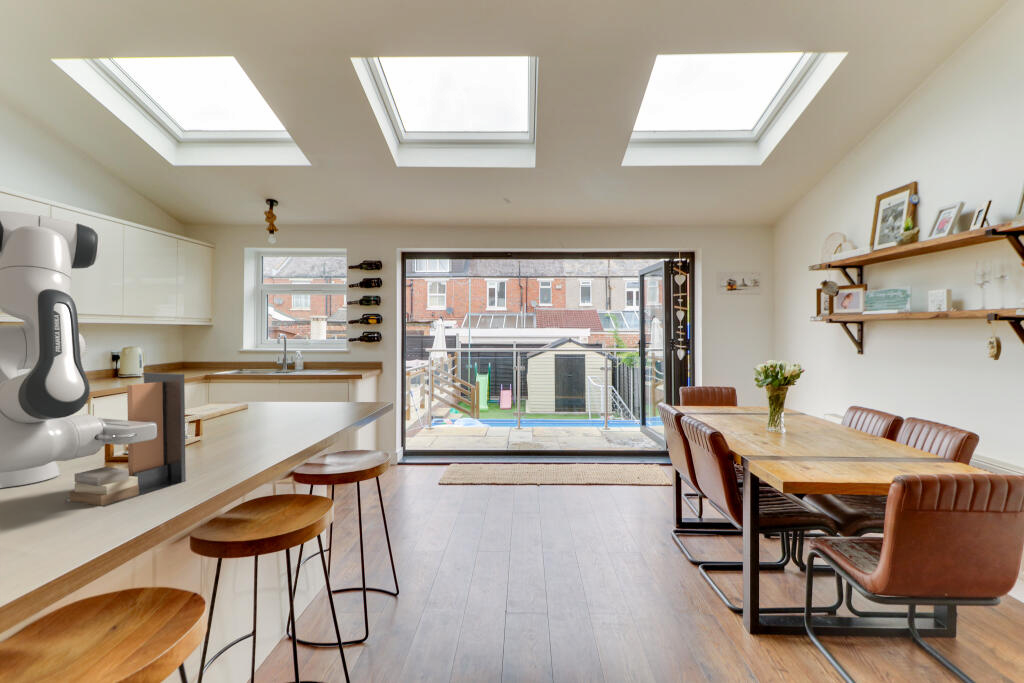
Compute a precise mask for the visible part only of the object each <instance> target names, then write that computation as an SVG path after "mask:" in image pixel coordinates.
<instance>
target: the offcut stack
mask: <svg viewBox="0 0 1024 683" xmlns="http://www.w3.org/2000/svg"><path fill="white" fill-rule="evenodd" d="M138 494H139V485H138V477H134V476H129V469H121V468H115V467H110V466H103V467H99V468H94V469H90V470H86V471H82V472H77V473H74V490H71V491H70V492H69V499H70V501H69V502H71V501H75V502H74V503H77V502H81V503H80V504H83V503H88V504H87V505H89V504H94V505H93V506H95V505H100V506H99V507H102V505H105V504H109V503H112V502H115V501H118V500H122V499H125V498H128V497H131V496H135V495H138Z"/></svg>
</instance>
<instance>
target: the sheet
mask: <svg viewBox="0 0 1024 683" xmlns="http://www.w3.org/2000/svg"><path fill="white" fill-rule="evenodd" d="M126 388H127V389H126V394H127V396H126V397H127V398H126V400H127V421H139V422H145V421H154V422H155V423H156V425H157V437H156V438H155V439H153V440H149V441H143V442H138V443H132V444H127V445H128V446H127V448H128V449H127V455H128V456H127V457H128V458H127V461H128V470H129V476H132V473H135V472H139V471H143V470H147V469H150V468H154V467H158V466H162V465H164V461H163V389H162V382H154V383H144V382H143V383H137V384H128V385H127V384H126Z"/></svg>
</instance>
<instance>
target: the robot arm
mask: <svg viewBox="0 0 1024 683" xmlns="http://www.w3.org/2000/svg"><path fill="white" fill-rule="evenodd" d="M101 250H102V249H101V242H100V239H99V236H98V233H97V232H96V231H95V230H94V228H92V227H89V226H87V225H83V224H81V223H76V224H75V223H72V222H69V221H65V220H62V219H59V218H54V217H50V216H45V215H36V214H31V213H30V214H29V213H23V212H16V211H6V210H0V311H1V312H2V313H5V314H6V315H9V316H11V317H13V318H16V319H19V320H22V321H24V322H23V324H22V325H0V489H3V488H9V487H17V486H24V485H29V484H34V483H35V484H36V483H40V482H43V481H47V480H50V479H52V478H55V477H56V478H57V477H58V476H59V475H61V471H60V466H59V465H58V462H67V461H71V460H76V459H81V458H84V457H89V456H93V455H96V454H98V453H99V452H100V451H101V449H102V448H103V447H104V446H105V445H106V444H107V445H108V444H109V445H116V446H117V445H119V446H120V445H121V446H122V445H128V444H132V443H138V442H143V441H149V440H153V439H155V438H156V437H157V425H156V423H155V422H154V421H145V422H139V421H128V419H127V420H125V419H112V418H101V417H96V416H95V415H93V414H90V413H85V414H84V413H83V414H79V415H74V414H76V413H78V412H79V411H80V410H81V409H83V408H84V407H85V405H86V403H87V402H88V400H89V397H90V394H91V393H90V391H91V389H90V383H89V380H88V377H87V374H86V373H85V370H84V367H83V364H82V358H83V357H84V355H85V353H86V346H87V344H86V340H85V338H84V336H83V335H82V334H81V333H80V332H79V331H80V329H79V319H78V317H79V316H78V311H77V306H76V303H75V301H74V300H73V297H72V273H73V272H72V270H73V269H76V270H77V269H87V268H88V269H89V267H91V266H93V265H94V264H95V263H96V261H97V259H98V258H99V257H100V254H101ZM29 369H30V370H29ZM19 370H29V371H27V372H25V373H24V374H20V375H19V373H18V372H19Z"/></svg>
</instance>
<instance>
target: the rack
mask: <svg viewBox="0 0 1024 683" xmlns="http://www.w3.org/2000/svg"><path fill="white" fill-rule="evenodd" d="M154 382H162V389H163V461H164V465H162V466H158V467H154V468H150V469H147V470H143V471H139V472H135V473H132V476H134V477H138V485H139V494H138V495H135V496H131V497H128V498H125V499H122V500H118V501H115V502H112V503H109V504H105V505H102V506H100V505H94V504H88V503H81V502H75V501H70V498H69V499H65V501H66V502H72V503H76V504H77V503H79V504H84V505H91V506H94V507H95V506H97V507H102V508H106V507H108V506H111V505H115V504H118V503H121V502H124V501H127V500H131V499H135V498H137V497H141V496H144V495H147V494H151V493H153V492H156V491H160V490H163V489H166V488H169V487H172V486H176V485H179V484H182V483H185V482H186V481H187V480H186V479H187V478H186V474H187V473H186V471H187V470H186V416H185V415H186V412H185V411H186V410H185V409H186V408H185V407H186V406H185V405H186V403H185V402H186V400H185V393H186V392H185V389H186V388H185V374H184V373H162V372H144V373H143V384H144V383H154Z"/></svg>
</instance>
